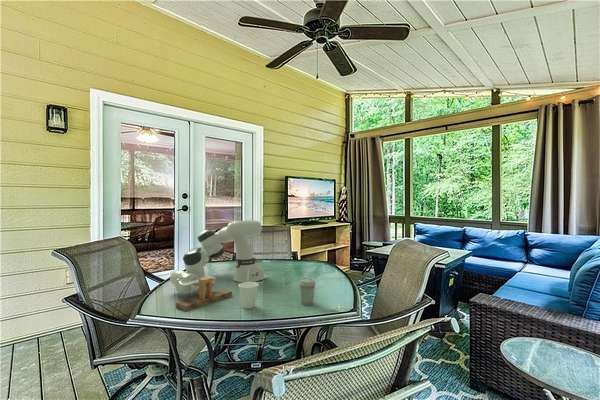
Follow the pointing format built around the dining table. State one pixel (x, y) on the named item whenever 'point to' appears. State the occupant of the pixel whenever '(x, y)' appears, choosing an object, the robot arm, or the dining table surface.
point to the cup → (248, 294)
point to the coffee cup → (307, 291)
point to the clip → (208, 287)
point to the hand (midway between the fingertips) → (206, 286)
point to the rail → (197, 302)
